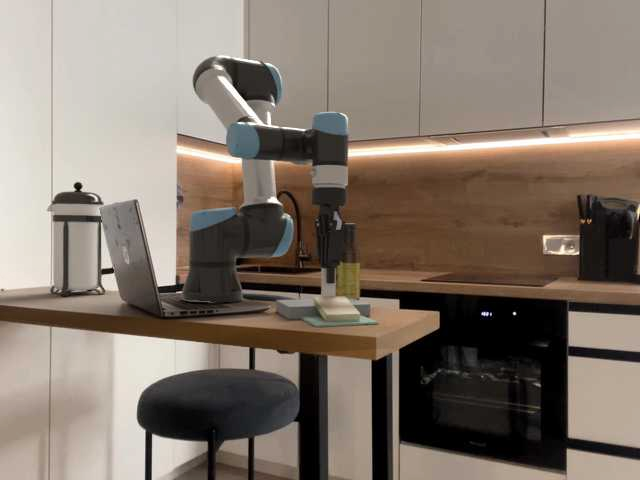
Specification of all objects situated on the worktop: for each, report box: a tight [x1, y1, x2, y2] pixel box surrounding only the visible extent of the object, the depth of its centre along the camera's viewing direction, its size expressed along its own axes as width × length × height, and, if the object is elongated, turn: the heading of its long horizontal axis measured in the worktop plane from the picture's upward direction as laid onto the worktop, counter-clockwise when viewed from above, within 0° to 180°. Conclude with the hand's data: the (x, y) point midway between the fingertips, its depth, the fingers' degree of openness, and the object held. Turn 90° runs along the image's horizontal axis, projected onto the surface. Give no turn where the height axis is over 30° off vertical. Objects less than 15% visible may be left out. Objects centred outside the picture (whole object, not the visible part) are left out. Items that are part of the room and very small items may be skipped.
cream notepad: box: [313, 296, 360, 322], centre depth 119 cm, size 9×7×2 cm
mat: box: [301, 315, 379, 328], centre depth 118 cm, size 10×13×1 cm
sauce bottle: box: [335, 222, 361, 301], centre depth 144 cm, size 6×6×20 cm
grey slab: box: [275, 298, 371, 320], centre depth 128 cm, size 11×18×2 cm, turn 108°
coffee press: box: [46, 181, 115, 298], centre depth 158 cm, size 17×16×30 cm
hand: (328, 298), depth 124 cm, fingers closed
